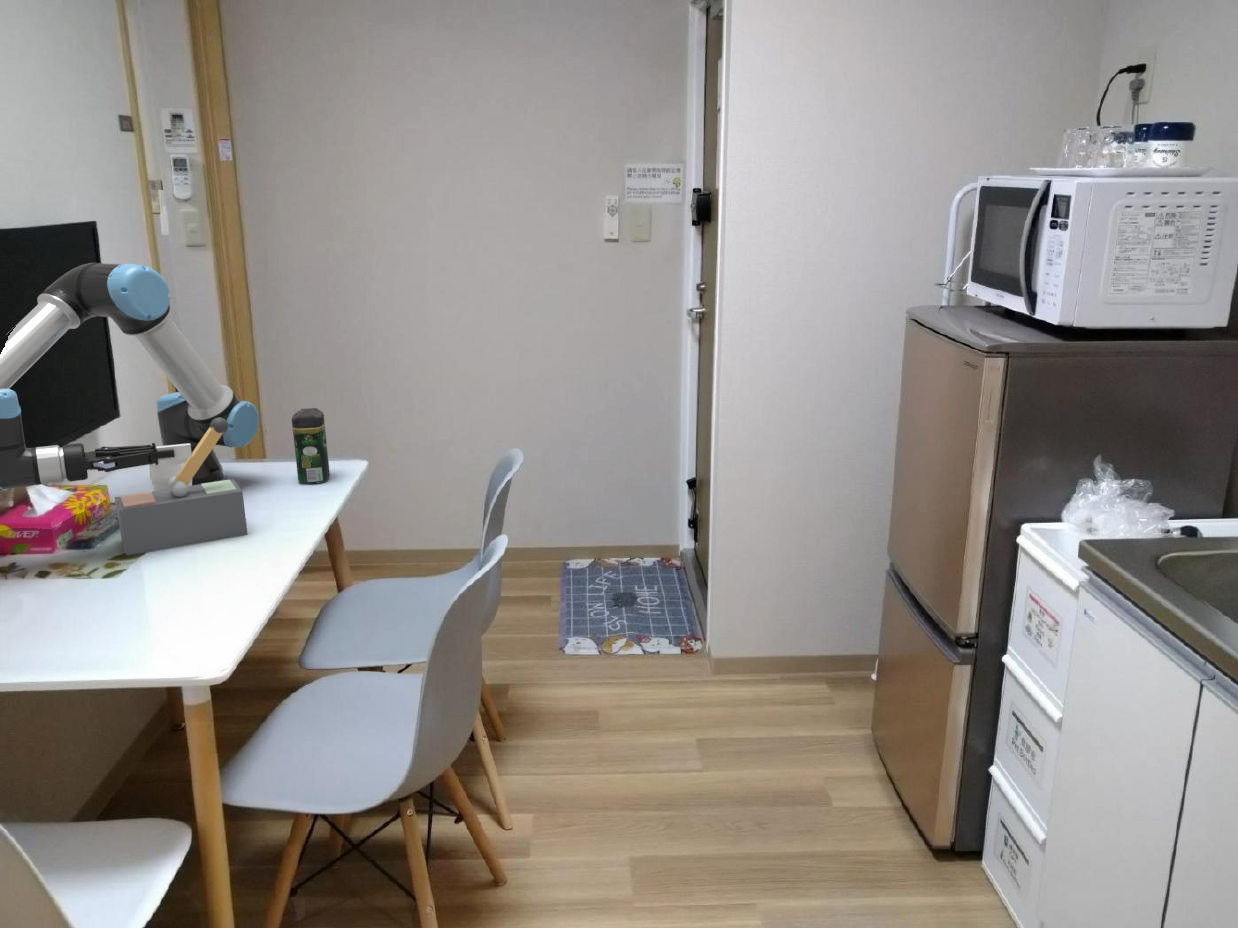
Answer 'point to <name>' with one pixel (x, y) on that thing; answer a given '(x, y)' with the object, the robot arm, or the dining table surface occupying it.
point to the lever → (197, 457)
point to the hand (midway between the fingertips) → (190, 450)
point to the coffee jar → (310, 445)
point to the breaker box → (180, 517)
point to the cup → (165, 472)
